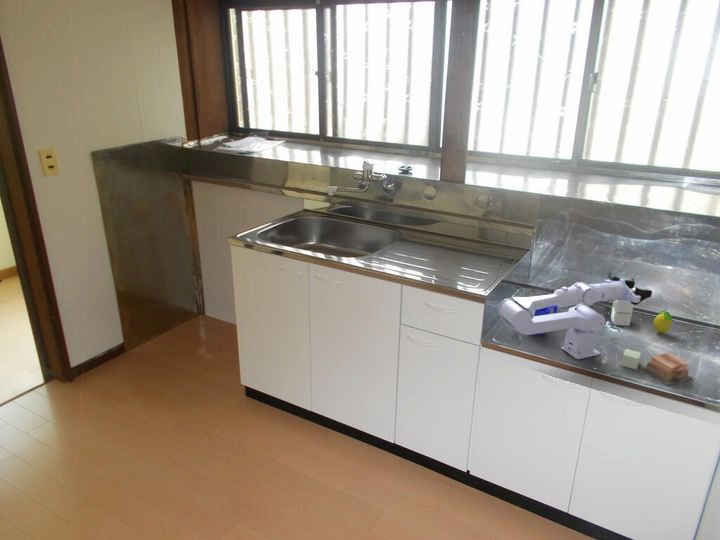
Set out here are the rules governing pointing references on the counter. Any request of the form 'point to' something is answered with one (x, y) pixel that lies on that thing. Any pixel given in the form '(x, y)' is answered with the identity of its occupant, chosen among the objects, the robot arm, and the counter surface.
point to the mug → (545, 313)
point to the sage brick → (630, 359)
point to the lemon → (663, 322)
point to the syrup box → (622, 312)
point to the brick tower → (667, 369)
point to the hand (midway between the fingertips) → (642, 289)
